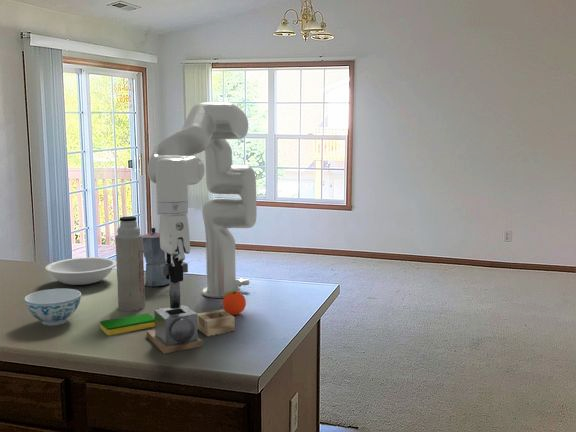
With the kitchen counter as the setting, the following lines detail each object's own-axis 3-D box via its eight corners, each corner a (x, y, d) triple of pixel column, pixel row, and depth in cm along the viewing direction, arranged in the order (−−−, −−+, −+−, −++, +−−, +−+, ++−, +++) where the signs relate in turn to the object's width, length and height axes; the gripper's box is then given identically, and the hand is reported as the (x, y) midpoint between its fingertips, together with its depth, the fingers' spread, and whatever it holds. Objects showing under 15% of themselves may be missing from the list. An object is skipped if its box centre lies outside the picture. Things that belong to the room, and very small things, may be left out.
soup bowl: (106, 292, 205) (105, 273, 204) (34, 292, 205) (33, 273, 204) (125, 274, 229) (125, 257, 228) (61, 274, 229) (60, 257, 228)
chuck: (199, 341, 155) (198, 314, 154) (167, 347, 151) (166, 320, 150) (174, 321, 171) (173, 296, 170) (144, 326, 167) (143, 301, 166)
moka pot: (139, 280, 220) (137, 225, 217) (182, 279, 221) (181, 225, 218) (134, 288, 210) (132, 230, 207) (180, 287, 212) (178, 229, 208)
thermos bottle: (149, 303, 192) (146, 215, 188) (138, 311, 184) (134, 219, 180) (125, 302, 194) (122, 214, 189) (113, 309, 186) (109, 218, 181)
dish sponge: (100, 329, 170) (99, 321, 169) (147, 320, 177) (147, 312, 177) (108, 336, 164) (107, 328, 163) (157, 327, 171) (157, 319, 171)
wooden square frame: (222, 322, 174) (222, 309, 173) (234, 331, 167) (234, 317, 166) (196, 327, 170) (195, 313, 169) (207, 336, 163) (207, 321, 162)
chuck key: (185, 304, 159) (184, 261, 157) (189, 306, 157) (187, 263, 155) (161, 307, 156) (160, 264, 154) (164, 310, 153) (163, 266, 152)
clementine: (215, 314, 182) (214, 290, 181) (232, 308, 187) (231, 286, 186) (234, 319, 177) (233, 295, 176) (250, 314, 182) (250, 290, 181)
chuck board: (182, 330, 168) (182, 324, 168) (202, 346, 156) (201, 340, 156) (146, 336, 163) (146, 331, 163) (164, 353, 151) (163, 347, 151)
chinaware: (27, 317, 179) (25, 291, 178) (81, 311, 184) (80, 286, 183) (25, 333, 165) (23, 305, 164) (83, 326, 171) (82, 300, 169)
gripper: (198, 211, 147) (200, 285, 150) (175, 203, 161) (177, 271, 164) (168, 213, 144) (171, 289, 146) (147, 205, 157) (150, 275, 160)
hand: (174, 279), depth 155 cm, fingers closed on chuck key, 2 cm apart
